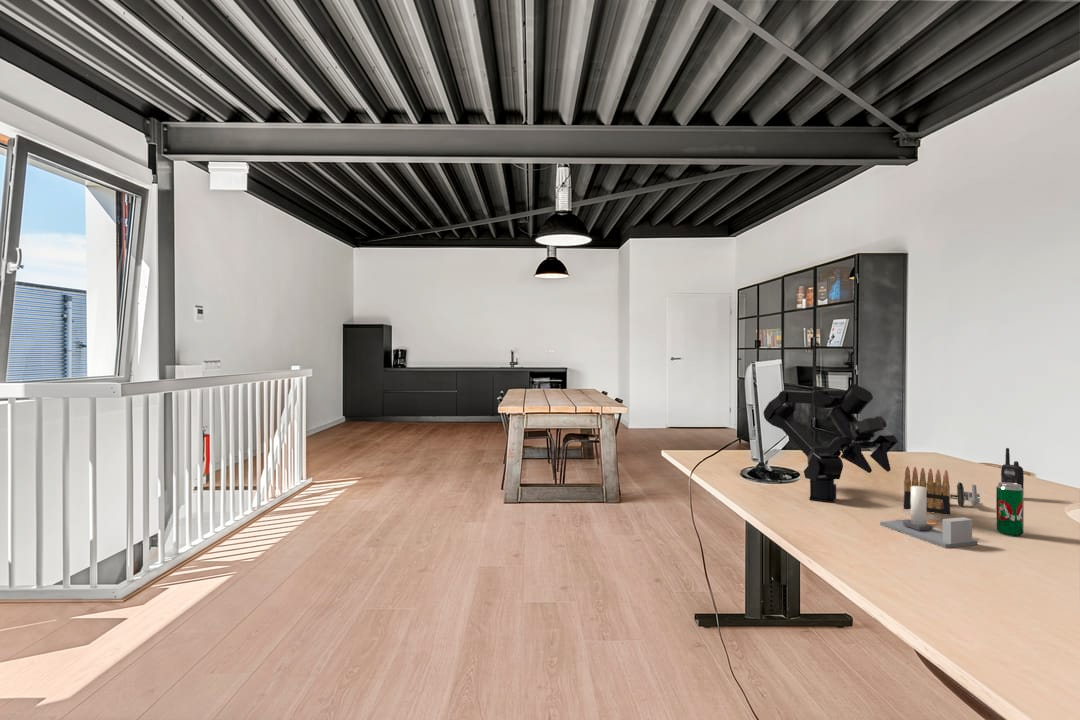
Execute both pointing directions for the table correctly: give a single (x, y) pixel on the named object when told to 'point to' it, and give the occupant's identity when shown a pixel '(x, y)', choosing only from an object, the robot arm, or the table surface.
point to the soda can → (1010, 509)
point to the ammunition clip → (929, 490)
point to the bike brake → (965, 495)
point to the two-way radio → (1012, 471)
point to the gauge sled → (918, 510)
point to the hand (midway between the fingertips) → (879, 471)
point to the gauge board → (940, 532)
